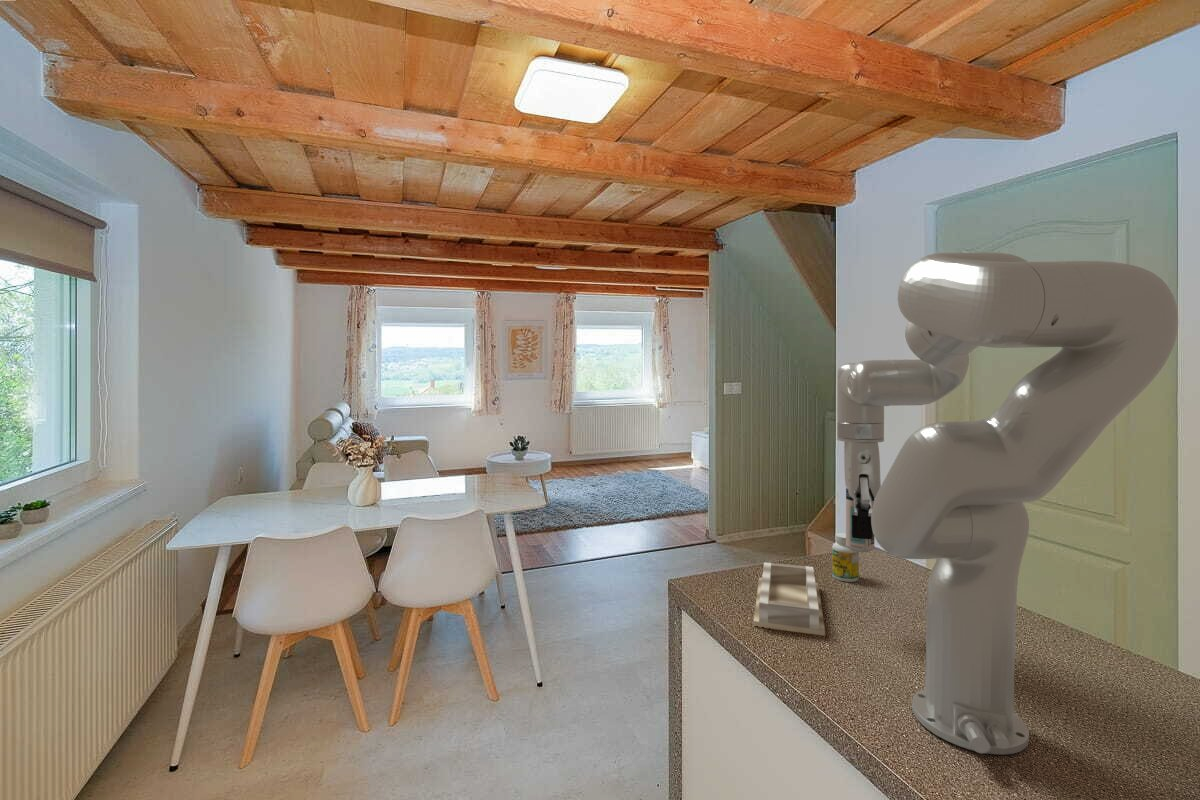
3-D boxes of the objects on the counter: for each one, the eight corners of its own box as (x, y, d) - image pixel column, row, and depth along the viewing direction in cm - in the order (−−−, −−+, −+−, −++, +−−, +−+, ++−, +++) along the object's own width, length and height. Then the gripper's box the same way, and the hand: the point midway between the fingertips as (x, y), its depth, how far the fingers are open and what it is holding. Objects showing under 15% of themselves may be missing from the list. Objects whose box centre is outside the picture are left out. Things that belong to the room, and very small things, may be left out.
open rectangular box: (824, 635, 95) (825, 610, 95) (753, 626, 99) (753, 602, 99) (818, 588, 116) (818, 567, 116) (759, 582, 120) (759, 561, 120)
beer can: (868, 545, 100) (868, 480, 100) (879, 553, 96) (879, 485, 95) (841, 544, 101) (841, 479, 100) (850, 553, 96) (850, 484, 96)
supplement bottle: (863, 579, 121) (864, 536, 121) (848, 584, 118) (849, 540, 118) (841, 571, 126) (842, 530, 125) (826, 576, 123) (827, 534, 122)
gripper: (892, 437, 88) (892, 549, 89) (876, 428, 104) (875, 523, 105) (841, 436, 91) (841, 546, 91) (833, 427, 107) (833, 520, 107)
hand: (860, 532), depth 98 cm, fingers closed on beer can, 4 cm apart
